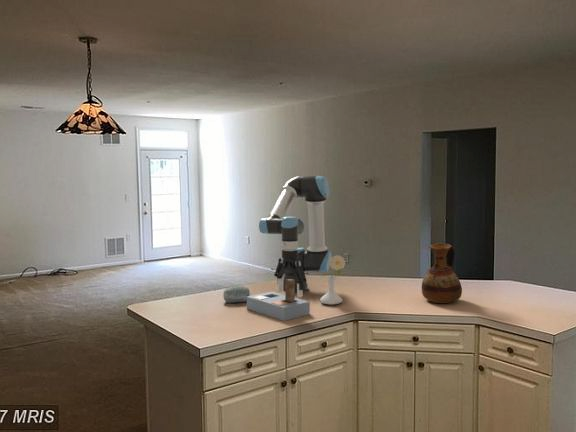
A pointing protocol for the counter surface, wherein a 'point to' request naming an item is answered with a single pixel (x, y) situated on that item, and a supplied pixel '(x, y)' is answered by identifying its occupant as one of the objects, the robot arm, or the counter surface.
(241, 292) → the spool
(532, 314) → the counter surface
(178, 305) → the counter surface
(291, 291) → the peg
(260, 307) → the socket block
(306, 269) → the robot arm
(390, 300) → the counter surface
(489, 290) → the counter surface
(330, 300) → the flower in vase
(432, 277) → the ceramic pitcher
